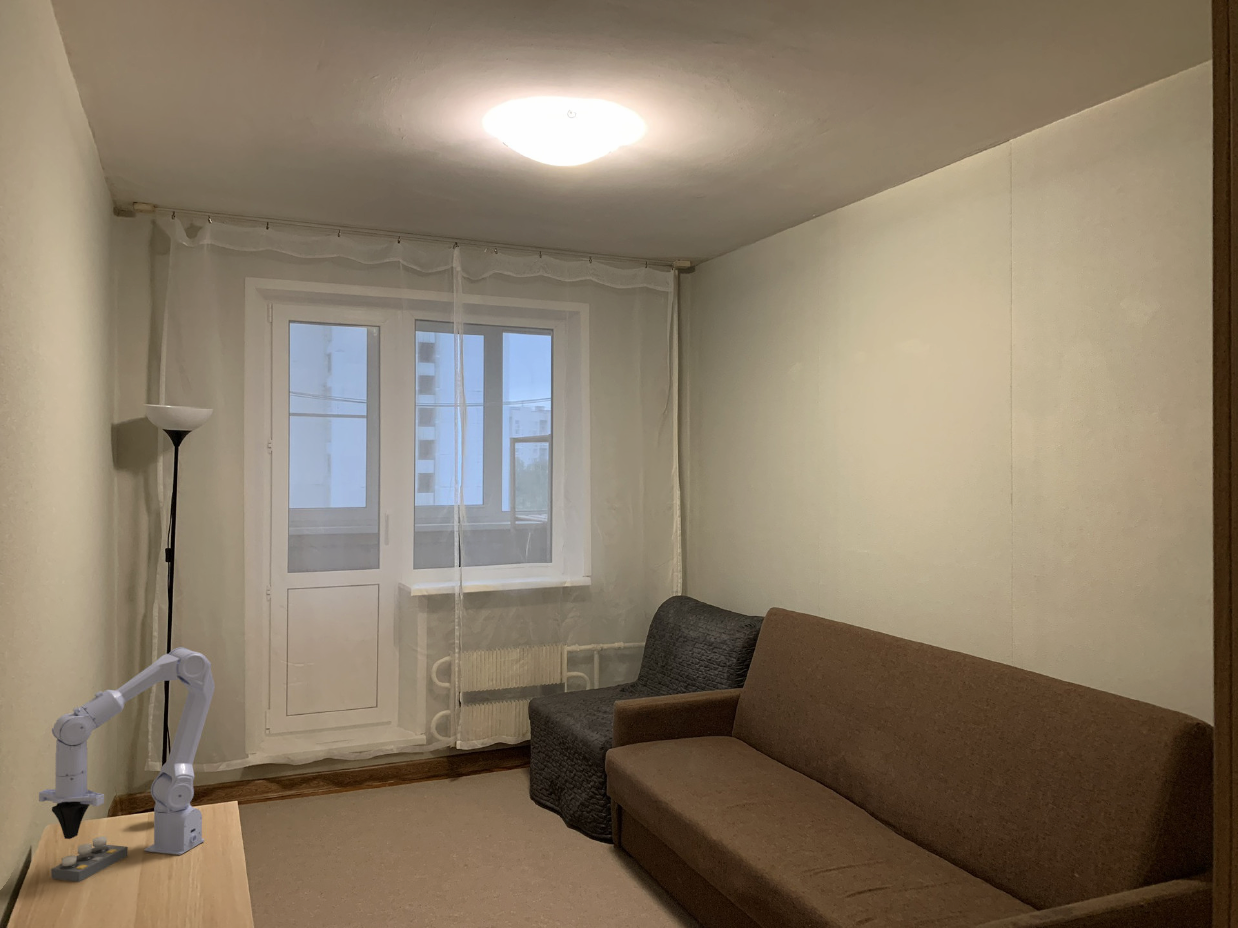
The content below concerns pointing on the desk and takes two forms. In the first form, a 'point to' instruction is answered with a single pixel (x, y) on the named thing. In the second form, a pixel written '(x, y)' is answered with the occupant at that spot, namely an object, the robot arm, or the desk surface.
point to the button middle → (84, 848)
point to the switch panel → (90, 863)
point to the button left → (69, 860)
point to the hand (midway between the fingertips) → (71, 837)
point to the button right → (99, 841)
